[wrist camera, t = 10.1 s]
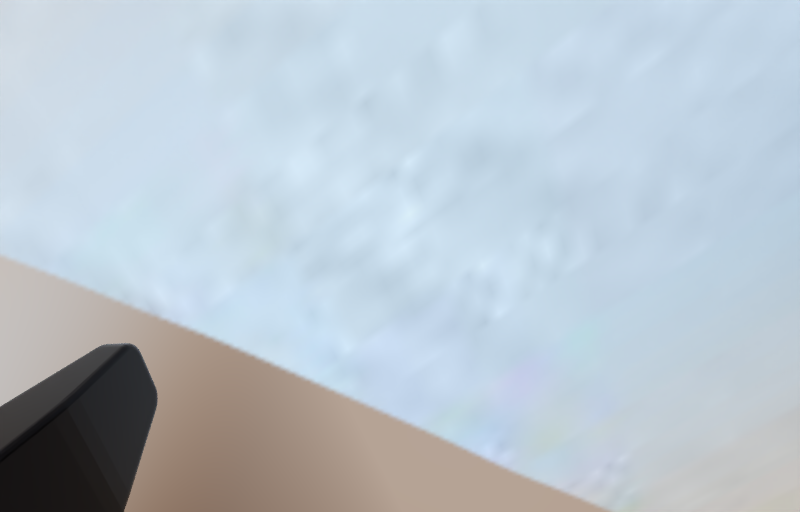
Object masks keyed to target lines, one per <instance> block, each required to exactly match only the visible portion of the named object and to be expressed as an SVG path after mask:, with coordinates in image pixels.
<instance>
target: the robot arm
mask: <svg viewBox="0 0 800 512" xmlns="http://www.w3.org/2000/svg"><path fill="white" fill-rule="evenodd" d="M156 406H157V390H156V387H155V385H154V382H153V380H152V378H151V376H150V373H149V371H148V369H147V366H146V364H145V362H144V360H143V357H142V355H141V353H140V351H139V349H138V348H137V347H136V346H135V345H133V344H128V343H124V344H106V345H102V346H100V347H98V348H96V349H94V350H93V351H91V352H90V353H88V354H86V355H85V356H83V357H81V358H80V359H78V360H76V361H75V362H73V363H71V364H70V365H68V366H66V367H65V368H63V369H61V370H60V371H58V372H56V373H55V374H53V375H52V376H50V377H48V378H47V379H45V380H43V381H42V382H40V383H38V384H37V385H35V386H34V387H32V388H30V389H28V390H27V391H25V392H24V393H22V394H20V395H19V396H17V397H15V398H14V399H12V400H10V401H9V402H7V403H5V404H4V405H2V406H1V407H0V512H124V509H125V506H126V504H127V501H128V498H129V495H130V492H131V488H132V485H133V482H134V479H135V475H136V472H137V469H138V466H139V462H140V459H141V456H142V453H143V450H144V446H145V443H146V440H147V437H148V433H149V430H150V427H151V423H152V421H153V417H154V414H155V410H156Z"/></svg>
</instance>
